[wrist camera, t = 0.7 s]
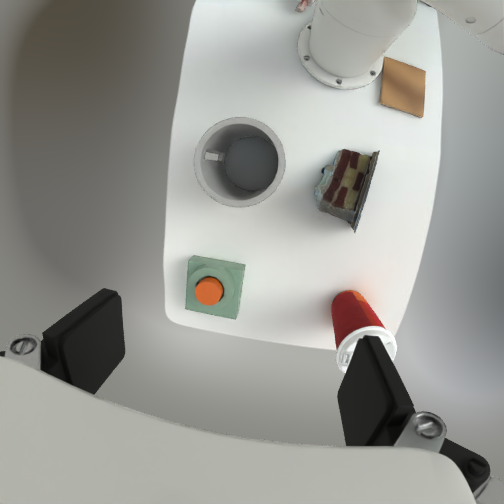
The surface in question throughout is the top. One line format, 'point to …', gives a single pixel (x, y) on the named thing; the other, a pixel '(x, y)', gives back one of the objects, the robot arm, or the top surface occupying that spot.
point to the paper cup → (356, 326)
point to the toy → (304, 5)
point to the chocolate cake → (346, 185)
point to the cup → (213, 171)
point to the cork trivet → (402, 87)
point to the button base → (225, 274)
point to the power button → (209, 291)
